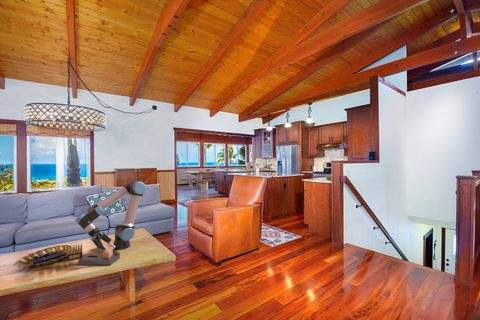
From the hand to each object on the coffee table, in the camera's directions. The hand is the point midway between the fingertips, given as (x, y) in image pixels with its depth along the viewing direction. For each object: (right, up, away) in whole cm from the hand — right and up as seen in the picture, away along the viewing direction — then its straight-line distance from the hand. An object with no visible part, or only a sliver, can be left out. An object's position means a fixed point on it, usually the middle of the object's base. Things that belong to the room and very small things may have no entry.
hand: (111, 250), depth 180 cm
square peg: (-3, -9, 0) cm, 10 cm away
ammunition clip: (-33, -10, +4) cm, 35 cm away
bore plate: (-9, -9, 0) cm, 13 cm away
